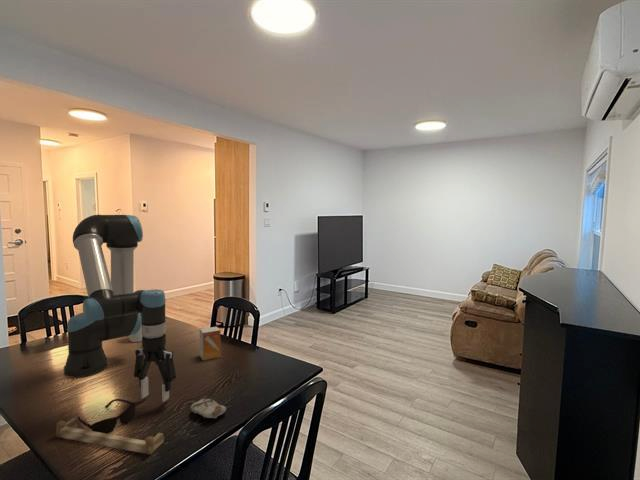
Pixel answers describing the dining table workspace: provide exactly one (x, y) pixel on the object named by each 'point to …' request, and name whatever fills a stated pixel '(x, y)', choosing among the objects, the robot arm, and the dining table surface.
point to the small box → (209, 343)
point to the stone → (208, 408)
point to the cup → (136, 336)
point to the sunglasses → (112, 419)
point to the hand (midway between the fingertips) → (155, 397)
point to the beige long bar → (108, 438)
